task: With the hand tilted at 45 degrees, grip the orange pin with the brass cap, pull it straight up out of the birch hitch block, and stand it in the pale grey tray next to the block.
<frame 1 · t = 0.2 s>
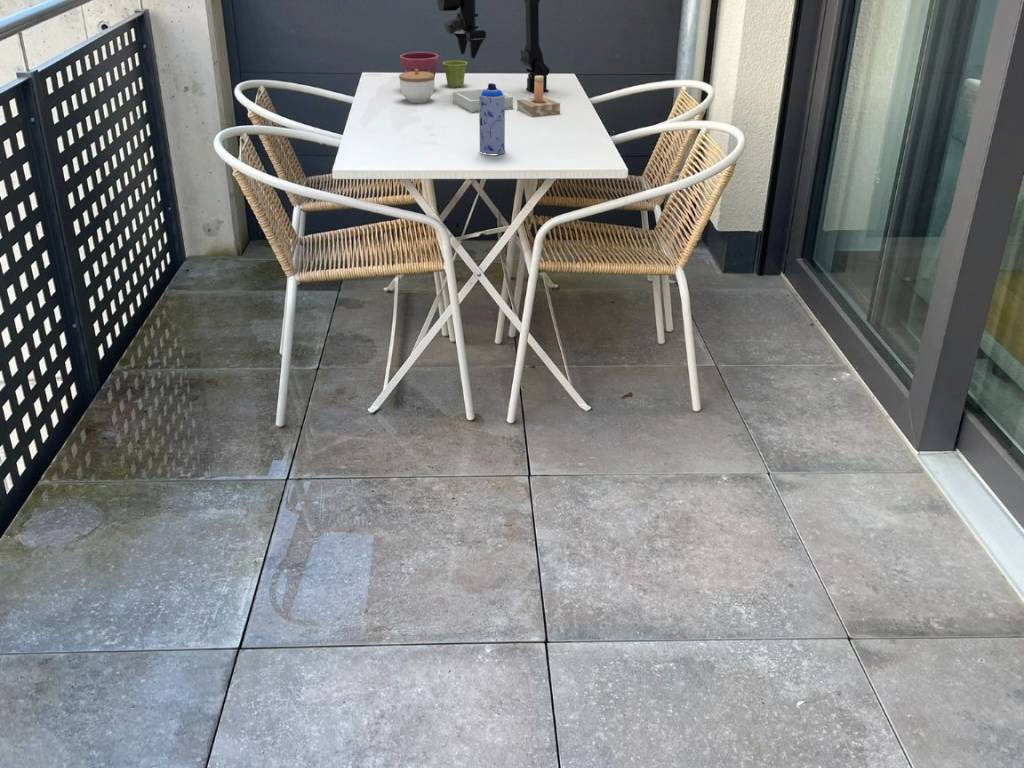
hand: (467, 56, 362), 15 cm above the table, tool pointing down, fingers open, 9 cm apart
plant pot 2: (455, 86, 387), on the table
plant pot: (420, 90, 379), on the table
lidded bowl: (417, 101, 364), on the table
pin: (538, 94, 347), in the hitch block
aerosol can: (492, 152, 303), on the table
tray: (482, 105, 357), on the table
hitch block: (538, 111, 350), on the table
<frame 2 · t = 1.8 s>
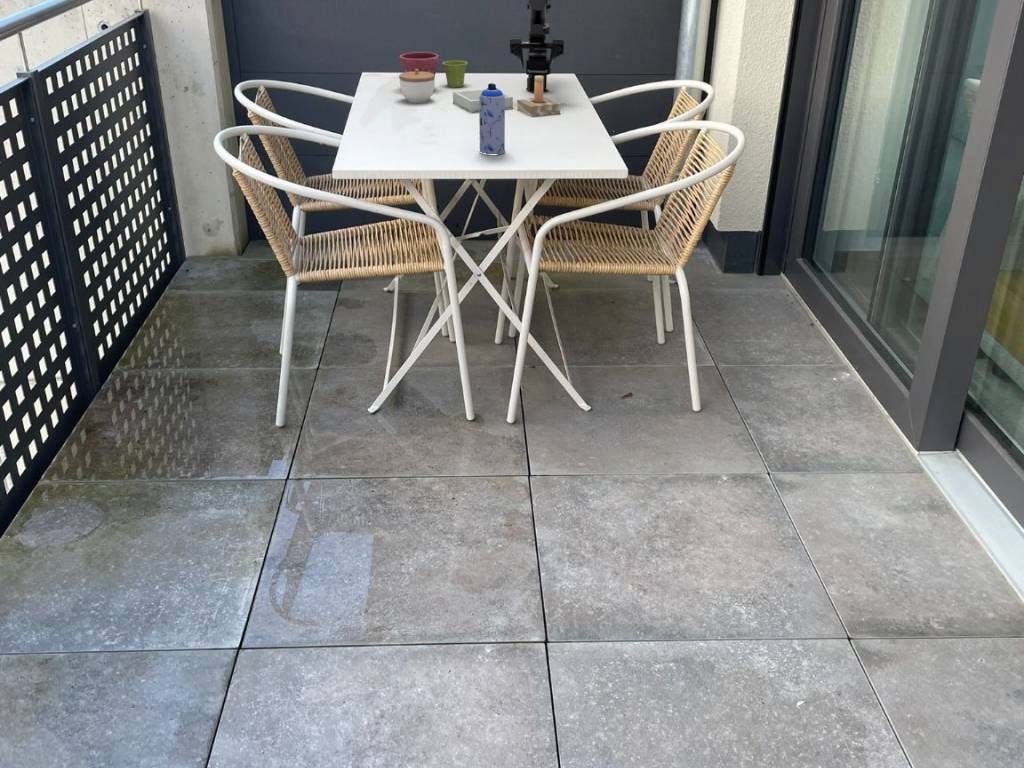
hand: (536, 67, 350), 13 cm above the table, tool tilted 45°, fingers open, 9 cm apart
nothing on the table moved.
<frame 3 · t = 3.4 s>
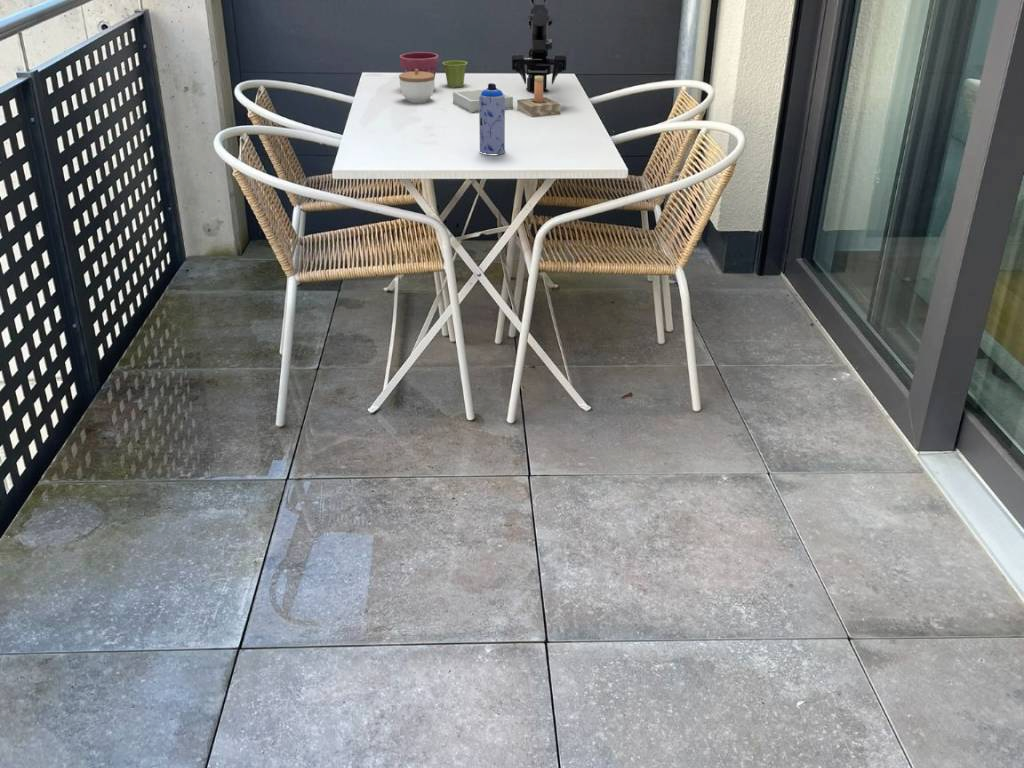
hand: (538, 83, 347), 9 cm above the table, tool tilted 45°, fingers open, 9 cm apart
nothing on the table moved.
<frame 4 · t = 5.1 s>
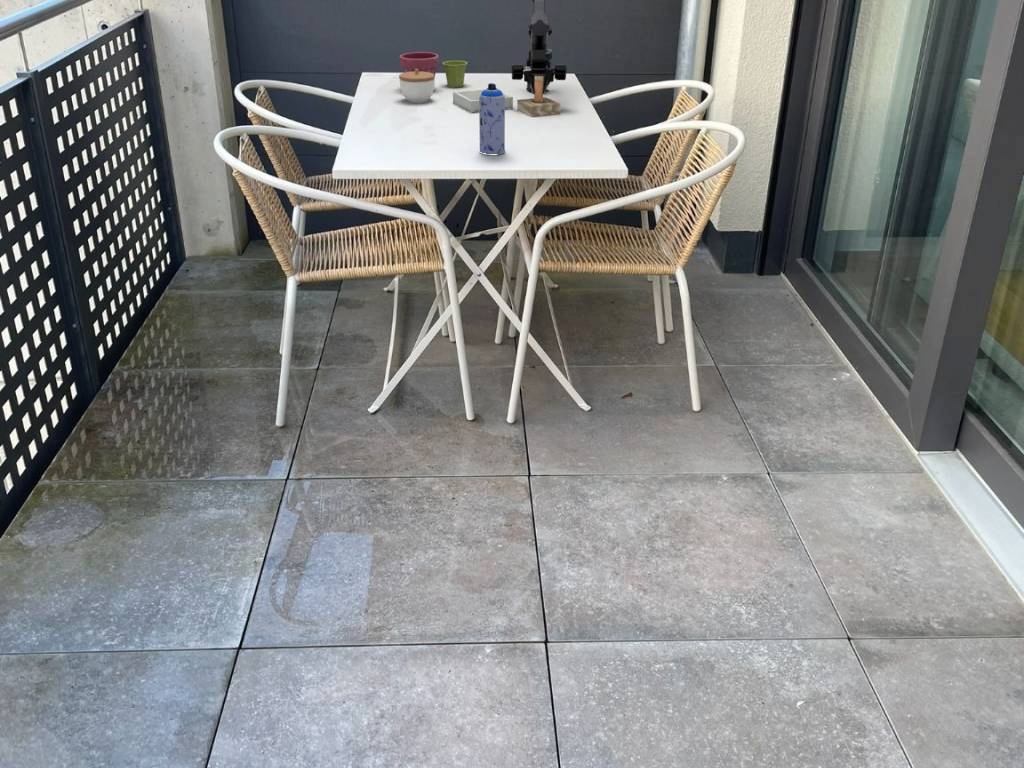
hand: (538, 93, 345), 7 cm above the table, tool tilted 45°, fingers closed on pin, 3 cm apart
pin: (538, 94, 347), in the hitch block, touching gripper
everything else where it was.
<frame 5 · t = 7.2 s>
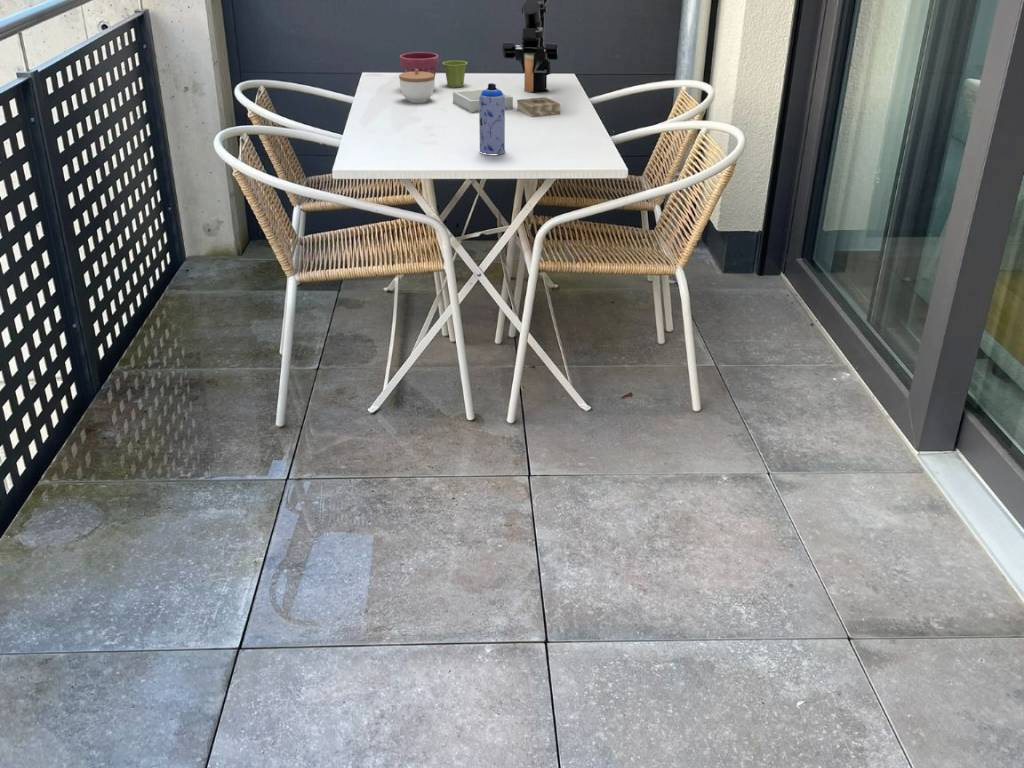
hand: (528, 72, 342), 13 cm above the table, tool tilted 45°, fingers closed on pin, 3 cm apart
pin: (528, 73, 344), point 13 cm above the table, touching gripper
everything else where it was.
when the fingers open (8 cm above the table, at t = 9.5 s): pin stays where it is, resting on tray.
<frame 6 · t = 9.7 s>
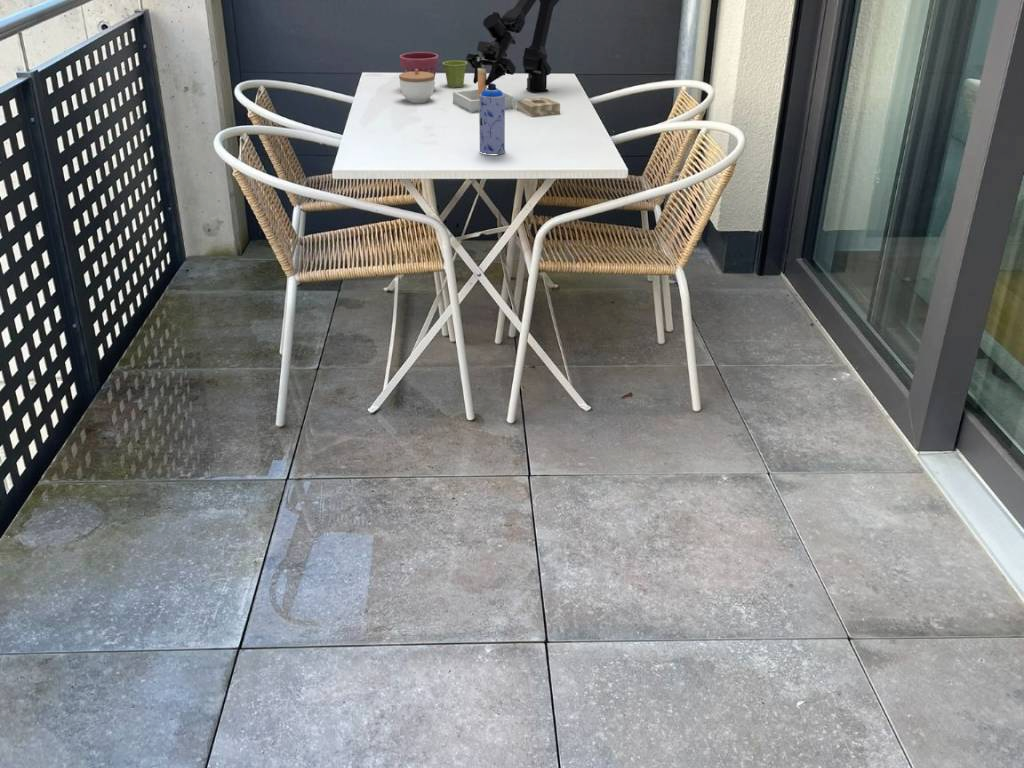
hand: (480, 83, 352), 8 cm above the table, tool tilted 45°, fingers open, 5 cm apart
pin: (482, 86, 354), in the tray, point 7 cm above the table
everything else where it was.
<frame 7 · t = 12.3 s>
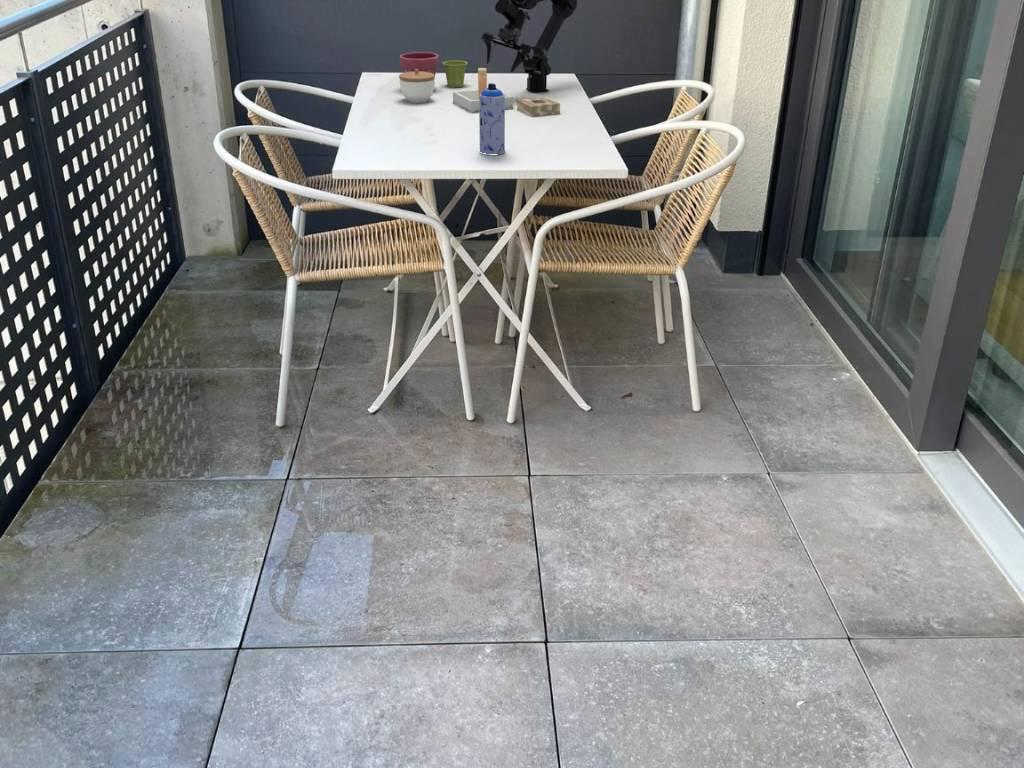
hand: (499, 68, 360), 11 cm above the table, tool tilted 30°, fingers open, 9 cm apart
nothing on the table moved.
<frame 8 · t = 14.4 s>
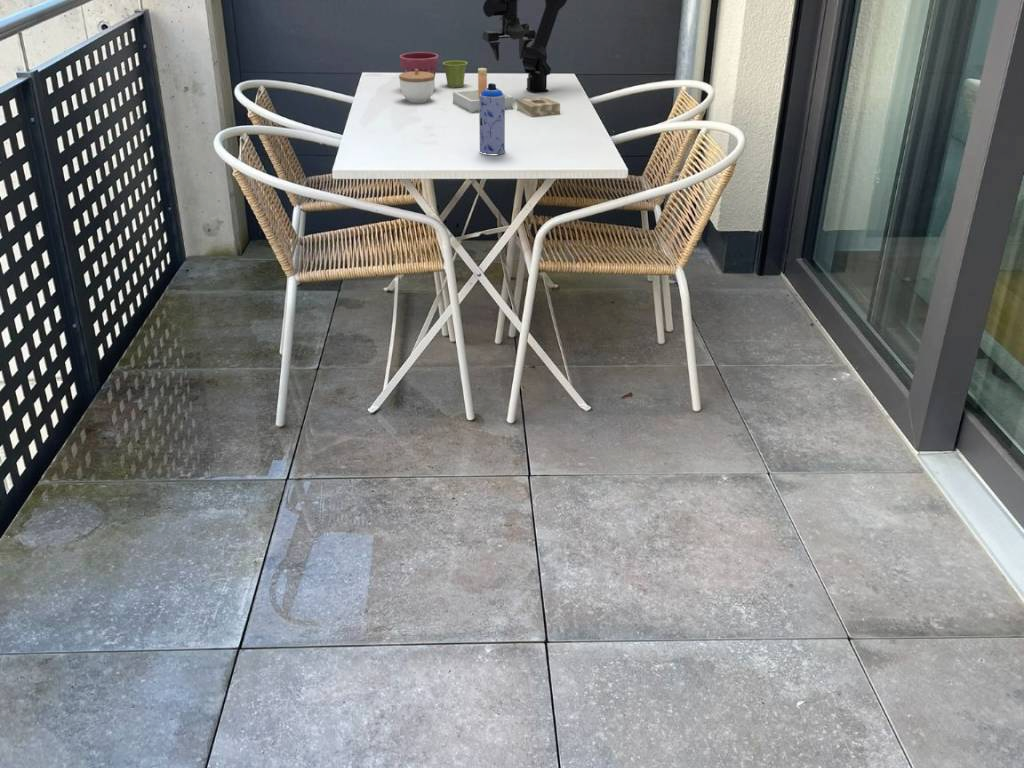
hand: (509, 59, 365), 13 cm above the table, tool pointing down, fingers open, 9 cm apart
nothing on the table moved.
at the end: pin inside the target area on the tray (0.0 cm from its centre), point 6.8 cm above the tray's base; the gripper is holding nothing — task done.
